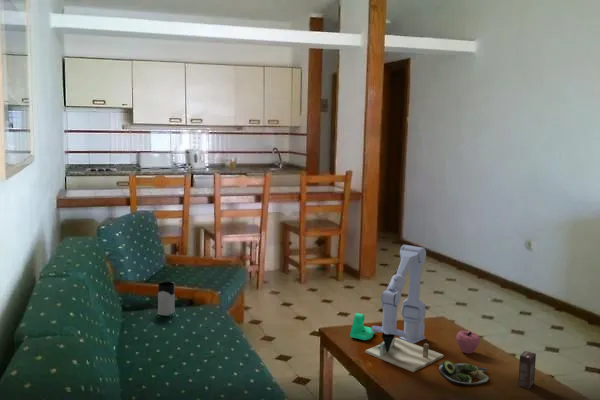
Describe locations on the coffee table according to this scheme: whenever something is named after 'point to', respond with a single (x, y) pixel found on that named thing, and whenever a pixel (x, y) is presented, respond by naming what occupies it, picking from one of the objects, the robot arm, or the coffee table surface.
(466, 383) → the salad plate
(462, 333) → the apple
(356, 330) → the camera mount
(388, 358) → the door frame board
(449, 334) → the coffee table surface
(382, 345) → the door
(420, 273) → the robot arm
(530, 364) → the box
